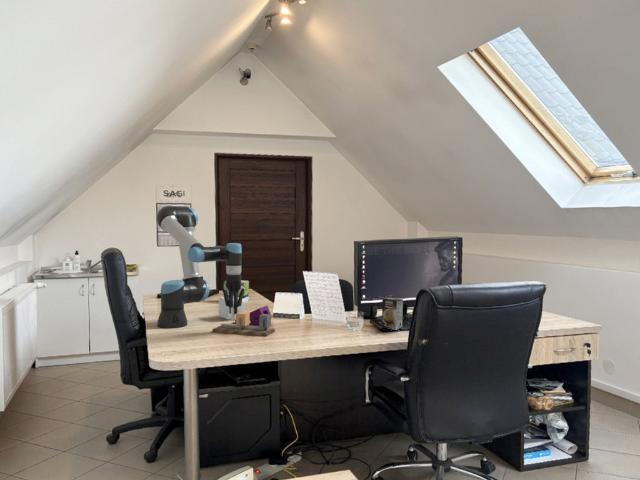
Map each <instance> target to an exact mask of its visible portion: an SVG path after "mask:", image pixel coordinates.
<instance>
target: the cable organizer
mask: <svg viewBox="0 0 640 480" xmlns="http://www.w3.org/2000/svg"><path fill="white" fill-rule="evenodd" d="M238 299H239V297H238ZM233 305H234V296H233ZM233 307H234V306H233ZM245 308H246V303H245V300H244V299H242V304H241V306H239V307H238V308H237V313H239V312H246V311H245V310H246V309H245ZM218 315H219V317H220V318H222V319H225V320H226V321H230V320H231V314H230V313H229V307H228V306H226V304H225V299H224V296H221V297H219V298H218Z"/></svg>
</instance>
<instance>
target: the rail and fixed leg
mask: <svg viewBox="0 0 640 480" xmlns="http://www.w3.org/2000/svg"><path fill="white" fill-rule="evenodd" d="M271 320H272V314H262V315H260V320H259V326H253V325H252V324H249V325H247V326H241V329H253V330H261V331H264V330H265V331H267V330H269V328H271V326H272V321H271ZM220 326H221V327H227V328H239V326H238V325H236V323H226V322H225V323H224V322H223V323H221V324H220Z"/></svg>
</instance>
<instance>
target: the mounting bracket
mask: <svg viewBox="0 0 640 480" xmlns="http://www.w3.org/2000/svg"><path fill="white" fill-rule="evenodd" d="M249 312H250V321H249V324H250V325H251V326H259V320H260V315H262V314H271V310H270V309H269V306H268V305H264V306H263V307H259V308H256V309H255V310H252V311H249ZM271 315H272V314H271ZM234 322H235V323H236V320H234Z"/></svg>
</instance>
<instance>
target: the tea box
mask: <svg viewBox="0 0 640 480" xmlns="http://www.w3.org/2000/svg"><path fill="white" fill-rule="evenodd" d="M241 284H242V287H244V288H246V290H245V292H244V295H243V299H244V300H245V302H246V303H247V302H249V296H250V295H249V293H250V281H249V280H246V279H245V280H242V279H241ZM225 285H226V280H224V281H223V287H224V286H225ZM227 292H228V297H229V291H228V289H227ZM239 295H240V290H239V291H238V297H239ZM233 296H234V294H233Z"/></svg>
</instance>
